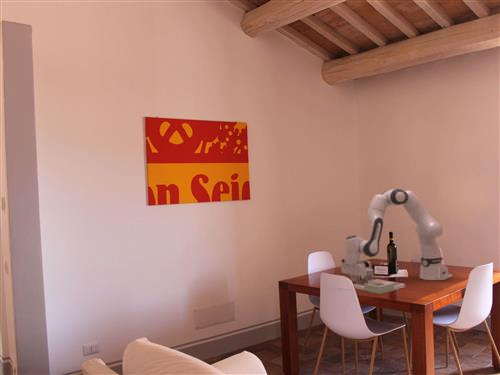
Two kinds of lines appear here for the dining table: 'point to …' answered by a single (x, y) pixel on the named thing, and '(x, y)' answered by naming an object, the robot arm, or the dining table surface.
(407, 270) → the dining table surface
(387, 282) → the trap board
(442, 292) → the dining table surface
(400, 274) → the dining table surface
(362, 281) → the block
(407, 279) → the dining table surface
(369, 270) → the container
